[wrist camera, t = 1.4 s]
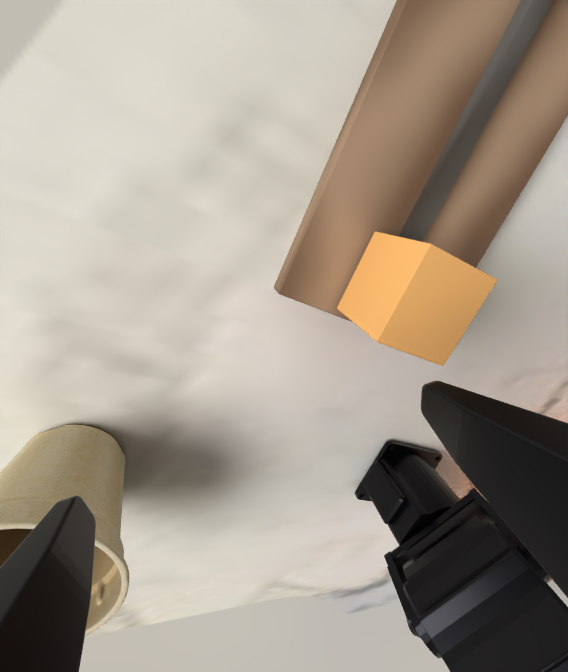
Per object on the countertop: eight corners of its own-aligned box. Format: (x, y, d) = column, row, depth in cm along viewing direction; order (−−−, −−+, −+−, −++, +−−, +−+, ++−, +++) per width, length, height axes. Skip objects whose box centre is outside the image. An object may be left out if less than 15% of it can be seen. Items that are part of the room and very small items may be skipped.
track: (606, 13, 19) (745, -47, 14) (414, 341, 25) (466, 377, 20) (464, -157, 15) (594, -327, 10) (273, 287, 21) (296, 316, 16)
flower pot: (150, 504, 26) (130, 639, 18) (6, 517, 23) (-90, 680, 15) (150, 401, 22) (125, 513, 14) (-20, 403, 20) (-160, 539, 12)
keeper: (430, 260, 21) (497, 279, 16) (392, 329, 22) (443, 365, 18) (374, 231, 19) (431, 243, 15) (336, 308, 21) (376, 341, 16)
